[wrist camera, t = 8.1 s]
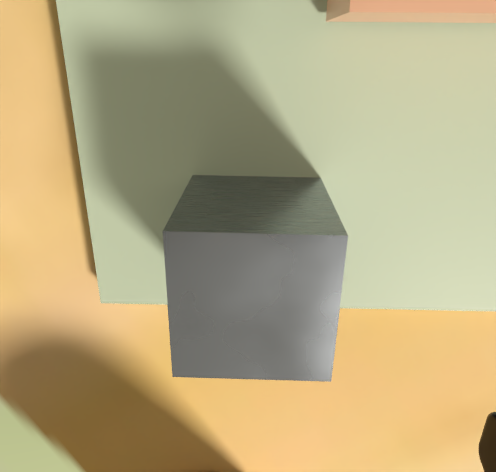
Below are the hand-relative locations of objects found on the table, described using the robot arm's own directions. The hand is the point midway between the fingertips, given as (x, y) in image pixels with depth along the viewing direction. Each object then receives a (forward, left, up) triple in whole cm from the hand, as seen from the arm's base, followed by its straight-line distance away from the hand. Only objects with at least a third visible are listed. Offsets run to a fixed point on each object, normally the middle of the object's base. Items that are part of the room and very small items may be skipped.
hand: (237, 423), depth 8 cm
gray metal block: (0, 0, -9) cm, 9 cm away
